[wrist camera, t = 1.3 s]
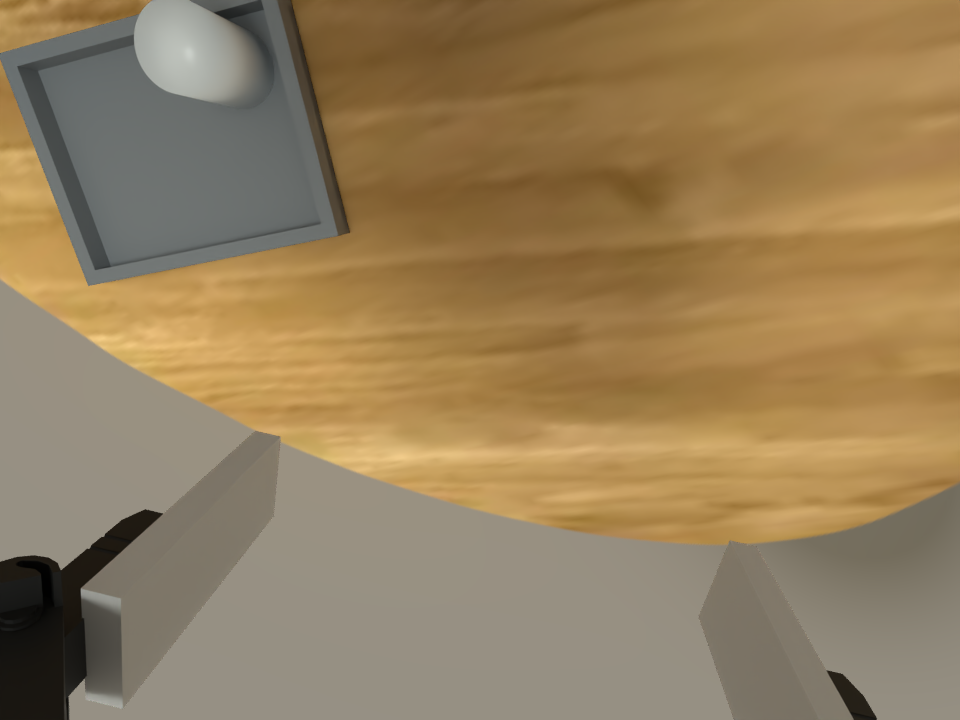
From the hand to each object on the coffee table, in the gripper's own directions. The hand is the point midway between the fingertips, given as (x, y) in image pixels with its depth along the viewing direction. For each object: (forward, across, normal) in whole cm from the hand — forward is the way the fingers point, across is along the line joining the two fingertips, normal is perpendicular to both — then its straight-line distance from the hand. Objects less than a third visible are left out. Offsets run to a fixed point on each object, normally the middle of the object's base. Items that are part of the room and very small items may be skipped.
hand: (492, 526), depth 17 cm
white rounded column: (+27, -22, +12) cm, 37 cm away
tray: (+28, -26, +6) cm, 39 cm away
